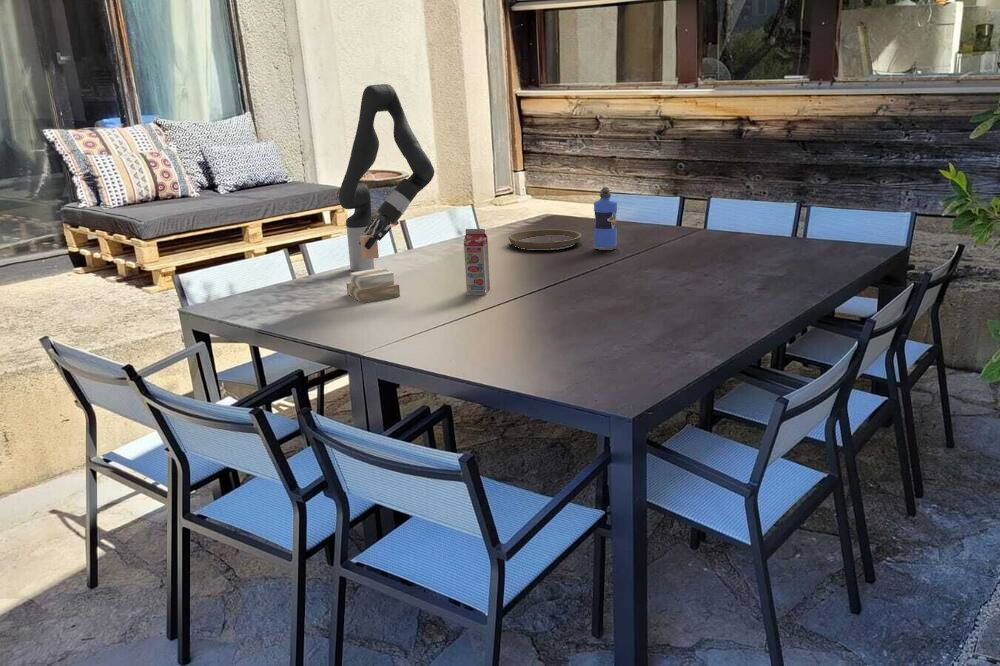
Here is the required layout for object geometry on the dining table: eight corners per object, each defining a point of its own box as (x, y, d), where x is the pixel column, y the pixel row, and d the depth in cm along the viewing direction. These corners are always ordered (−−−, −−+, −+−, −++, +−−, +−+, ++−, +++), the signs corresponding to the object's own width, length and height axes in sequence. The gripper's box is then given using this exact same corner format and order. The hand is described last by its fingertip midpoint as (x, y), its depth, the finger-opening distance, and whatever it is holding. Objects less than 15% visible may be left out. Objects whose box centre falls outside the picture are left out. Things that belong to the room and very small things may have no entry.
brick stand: (347, 294, 305) (345, 272, 303) (384, 288, 311) (383, 266, 309) (361, 302, 293) (359, 279, 291) (400, 296, 300) (398, 273, 297)
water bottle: (590, 249, 359) (589, 188, 352) (601, 245, 366) (600, 185, 359) (610, 251, 354) (610, 189, 346) (621, 247, 361) (621, 186, 354)
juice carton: (471, 289, 304) (467, 227, 298) (489, 290, 303) (486, 227, 296) (466, 294, 298) (463, 230, 291) (485, 295, 297) (482, 230, 290)
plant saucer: (545, 235, 394) (545, 225, 392) (597, 243, 372) (596, 233, 370) (493, 247, 374) (493, 236, 373) (545, 256, 352) (545, 245, 351)
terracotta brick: (361, 257, 299) (359, 236, 297) (374, 255, 301) (372, 234, 299) (366, 259, 296) (364, 237, 293) (378, 257, 298) (376, 236, 295)
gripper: (378, 197, 302) (348, 237, 301) (394, 202, 290) (362, 243, 288) (394, 211, 306) (364, 250, 304) (410, 216, 294) (379, 256, 292)
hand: (363, 246), depth 296 cm, fingers closed on terracotta brick, 4 cm apart
